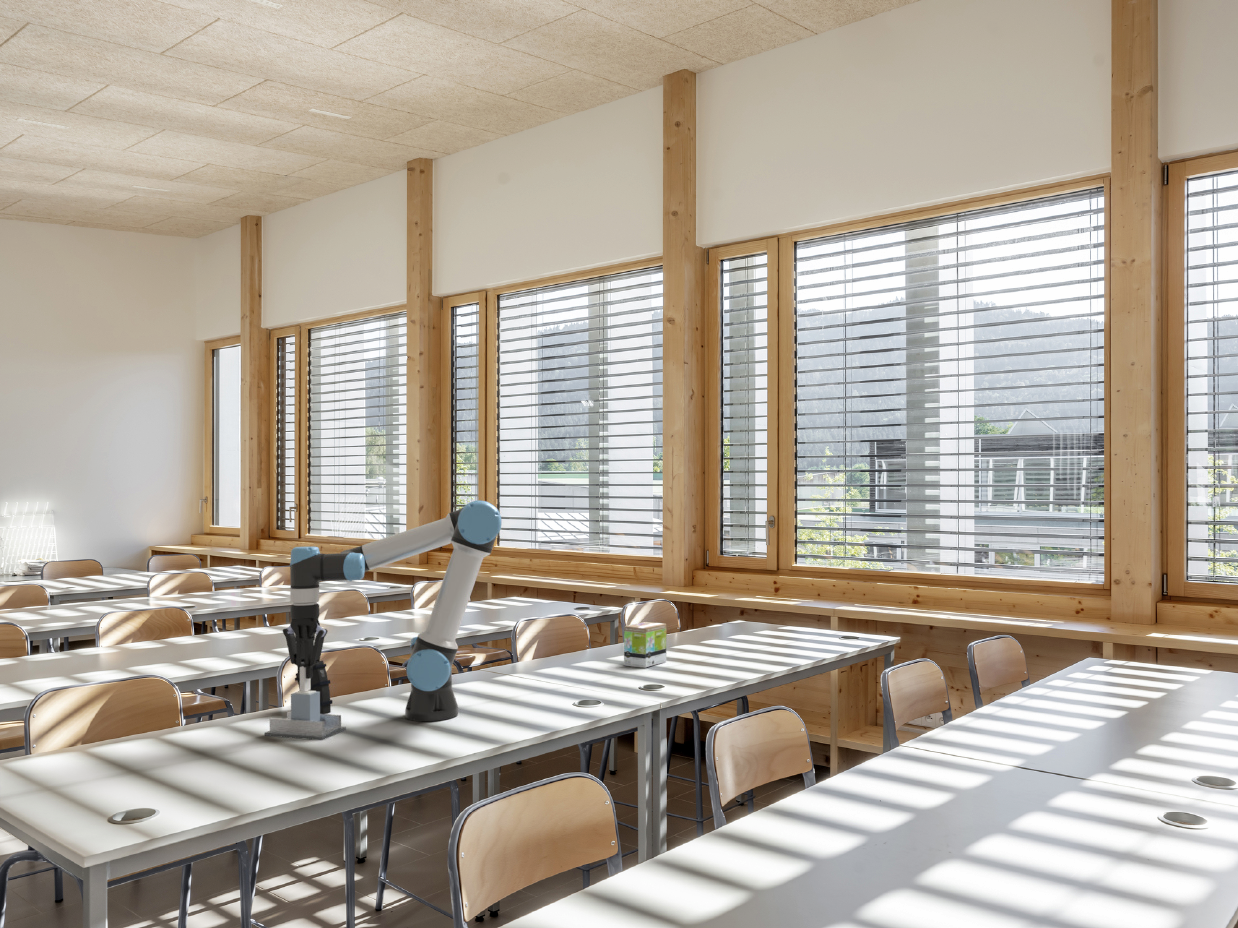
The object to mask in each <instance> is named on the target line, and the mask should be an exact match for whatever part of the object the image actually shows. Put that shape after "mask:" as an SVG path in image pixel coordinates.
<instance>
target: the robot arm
mask: <svg viewBox="0 0 1238 928" xmlns="http://www.w3.org/2000/svg"><path fill="white" fill-rule="evenodd" d="M501 528H502V516H501V513H500V511H499V509H498V508H497V507H496V506H495V505H494V504H492V503H491V502H488V501H486V500H479V499H478V500H472V501H471V502H469V503H467V504H465V506H463V507H461V508H459V509H457V510H454V511H452V512H448V513H447V515H446V517H443V518H441V519H438V520H435V521H433V522H428V523H425V524H423V525H420V526H417V527H413V528H410V529H407V530H405V531H401V532H398V533H395V534H393V535H390V536H387V537H383V538H380V539H377V540H374V541H371V542H368V543H365V544H363V545H361V546H360V545H359V546H356V547H354V548H353V547H352V548H349V549H345V550H343V551H341V552H339V553H338V552H337V553H322V552H321V551H320V548H319V547H318V546H296V547H293V548H292V549H291V550H290V563H289V569H290V571H289V573H290V575H289V576H290V591H289V593H290V594H289V595H290V597H289V600H290V604H291V605H290V608H289V609H290V613H289V614H290V618H291V620H290V624H289V626H287V627H286V628H283V629H282V633H283V635H284V637H285V640H286V645H287V650H288V657H289V660H290V663H291V664H292V665H296V667H297V673H298V678H300V690H299V691H303V692H305V691H308V690H311V678H312V677H313V665H315V664H318V663H319V661H321V655H322V651H323V646H324V641H325V637H326V636H327V634H328V631H329V630H328V629H327V628H322V626H321V624H320V621H319V617H320V604H319V602H320V582H336V581H337V582H340V581H341V582H343V581H344V582H345V581H346V582H348V581H349V582H354V581H361V580H363V579H364V577H365V573H366V572H369V571H371V570H375V569H377V568H380V567H383V566H386V565H390V564H392V563H395V562H398V561H401V560H402V561H403V560H405V559H407V558H410V557H413V556H417V555H420V554H423V553H425V552H429V551H431V550H435V549H438V548H441V547H444V546H447V545H450V544H452V547H453V550H452V554H451V556H450V559H449V562H448V565H447V567H446V571H445V573H444V577H443V579H442V582H441V585H440V588H439V591H438V594H437V596H436V599H435V602H434V605H433V608H432V611H431V614H430V616H429V620H428V621H427V622H428V623H427V625H426V628H425V630H424V631H422V632H421V633H418V635H417V636H414V637H412V638H411V641H410V646H409V648H410V657H409V659H408V661H407V664H406V668H405V669H406V672H405V673H406V676H407V678H408V681H409V682H410V685H411V687H410V693H409V696H408V699H407V703H406V706H405V711H404V712H405V713H404V715H405V716H404V717H405V719H407V720H410V721H415V722H437V721H444V720H449V719H452V718H455V717H457V716H458V715H459V705H458V702H457V699H456V697H455V693H454V690H453V676H452V675H453V664H454V661H455V658H456V655H457V652H458V649H459V646H458V645H459V644H457V641H456V638H457V636H458V632H459V631H460V627H461V623H462V622H463V618H464V616H465V612H466V609H467V607H468V603H469V601H470V598H471V596H472V595H471V594H472V592H473V589H474V586H475V583H476V580H477V577H478V575H479V572H480V569H481V566H482V563H483V560H484V558H485V557H488V556H490V555H491V554H492V551H493V547H494V545H495V542H496V539H497V537H498V535H499V534H500V531H501Z"/></svg>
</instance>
